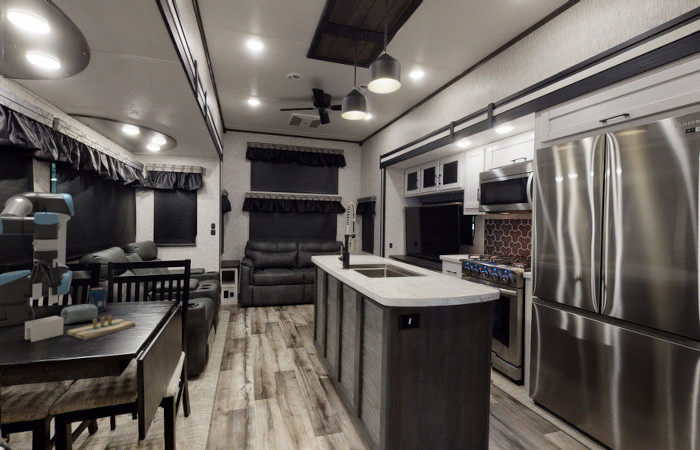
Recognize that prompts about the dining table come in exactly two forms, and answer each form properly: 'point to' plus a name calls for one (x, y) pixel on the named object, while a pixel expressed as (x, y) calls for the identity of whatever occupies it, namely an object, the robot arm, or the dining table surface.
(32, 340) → the white block
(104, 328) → the wooden peg board
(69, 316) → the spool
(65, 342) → the dining table surface
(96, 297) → the soda can
